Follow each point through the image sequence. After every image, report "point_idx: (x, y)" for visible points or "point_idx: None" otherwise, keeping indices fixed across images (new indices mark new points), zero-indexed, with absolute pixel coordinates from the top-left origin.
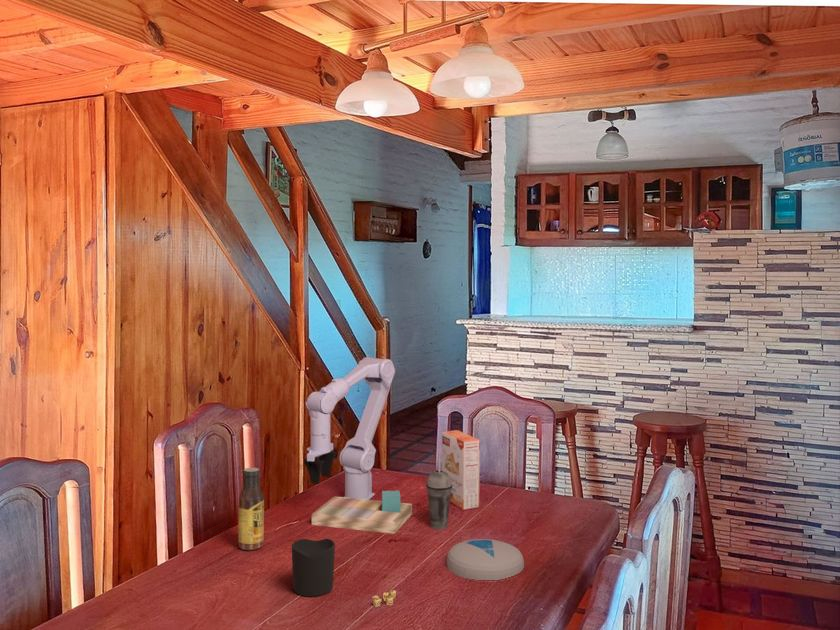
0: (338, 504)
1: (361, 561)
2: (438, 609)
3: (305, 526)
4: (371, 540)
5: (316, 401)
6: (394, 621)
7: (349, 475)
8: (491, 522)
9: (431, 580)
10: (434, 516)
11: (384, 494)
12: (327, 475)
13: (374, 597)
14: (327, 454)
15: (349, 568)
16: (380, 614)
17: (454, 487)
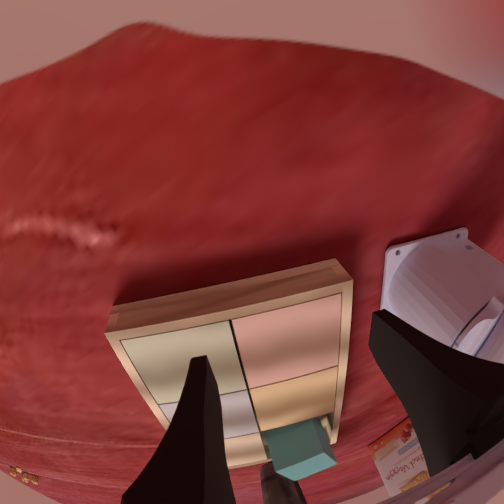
0: (261, 348)
1: (59, 450)
2: (57, 496)
3: (87, 297)
4: (138, 442)
5: None
6: (14, 478)
7: (446, 338)
8: (321, 478)
9: (95, 494)
10: (262, 489)
11: (293, 467)
12: (372, 346)
13: (17, 469)
14: (446, 453)
15: (31, 443)
16: (9, 471)
17: (404, 455)
